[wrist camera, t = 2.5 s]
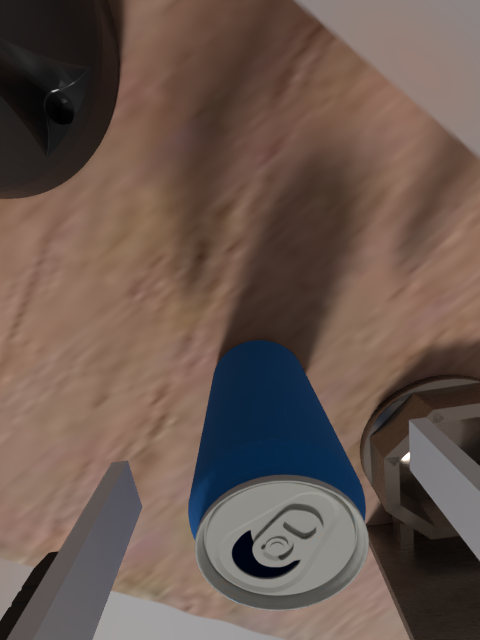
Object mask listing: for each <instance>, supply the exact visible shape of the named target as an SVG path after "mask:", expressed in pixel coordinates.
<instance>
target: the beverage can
mask: <svg viewBox="0 0 480 640" xmlns="http://www.w3.org/2000/svg"><path fill="white" fill-rule="evenodd" d="M365 513H366V506H365V497H364V493H363V489H362V485H361V483H360V481H359V479H358V477H357V475H356V473H355V471H354V469H353V467H352V465H351V463H350V461H349V459H348V457H347V455H346V453H345V451H344V449H343V447H342V445H341V443H340V441H339V439H338V437H337V435H336V433H335V431H334V429H333V427H332V425H331V423H330V421H329V419H328V417H327V415H326V413H325V411H324V409H323V407H322V406H321V404H320V402H319V400H318V398H317V396H316V394H315V392H314V390H313V388H312V386H311V384H310V382H309V380H308V378H307V376H306V374H305V372H304V370H303V368H302V366H301V364H300V362H299V361H298V359H297V358H296V356H295V355H294V354H293V353H292V352H291V351H289V350H288V349H287V348H285V347H284V346H282V345H280V344H277V343H274V342H271V341H265V340H254V341H248V342H245V343H241V344H239V345H237V346H235V347H234V348H232V349H230V350H229V351H228V352H227V353H226V354H225V355H224V356H223V357H222V358H221V359H220V361H219V362H218V364H217V366H216V368H215V371H214V375H213V380H212V386H211V391H210V396H209V401H208V406H207V411H206V417H205V422H204V427H203V432H202V437H201V442H200V447H199V453H198V458H197V463H196V468H195V473H194V478H193V483H192V489H191V494H190V499H189V508H188V514H189V522H190V527H191V531H192V534H193V537H194V539H195V555H196V561H197V564H198V567H199V569H200V571H201V573H202V575H203V576H204V578H205V579H206V581H207V582H208V583H209V584H210V585H211V586H212V587H213V588H214V589H215V590H216V591H218V592H219V593H220V594H221V595H223V596H225V597H226V598H228V599H229V600H232V601H234V602H236V603H238V604H241V605H244V606H247V607H251V608H255V609H260V610H268V611H286V610H295V609H301V608H305V607H309V606H312V605H315V604H318V603H321V602H323V601H325V600H327V599H329V598H331V597H333V596H334V595H336V594H338V593H339V592H340V591H342V590H343V589H344V588H346V587H347V586H348V585H349V584H350V583H351V582H352V581H353V580H354V578H355V577H356V576H357V575H358V573H359V572H360V570H361V569H362V567H363V565H364V562H365V560H366V557H367V553H368V547H369V537H368V531H367V527H366V524H365Z"/></svg>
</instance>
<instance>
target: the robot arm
mask: <svg viewBox="0 0 480 640" xmlns="http://www.w3.org/2000/svg"><path fill="white" fill-rule="evenodd" d="M117 84H118V51H117V41H116V34H115V28H114V23H113V18H112V15H111V11H110V7H109V4H108V1H107V0H0V199H13V198H24V197H29V196H34V195H38V194H41V193H44V192H46V191H49V190H51V189H53V188H55V187H57V186H59V185H61V184H62V183H64V182H65V181H67V180H68V179H70V178H71V177H72V176H73V175H75V174H76V173H77V172H78V171H79V170H80V169H81V168H82V167H83V166H84V165H85V164H86V163H87V162H88V160H89V159H90V158H91V156H92V155H93V154H94V152H95V151H96V149H97V148H98V146H99V144H100V142H101V140H102V138H103V137H104V134H105V132H106V130H107V127H108V125H109V122H110V119H111V116H112V112H113V108H114V104H115V98H116V92H117ZM409 447H410V471H411V472H412V473H413V475H414V476H415V477H416V478H417V480H418V481H419V482H420V484H421V485H422V486H423V488H424V489H425V490H426V492H427V493H428V494H429V495H430V497H431V498H432V499H433V501H434V502H435V503H436V505H437V506H438V507H439V509H440V510H441V511H442V512H443V514H444V515H445V516H446V518H447V519H448V520H449V522H450V523H451V524H452V525H453V527H454V528H455V529H456V531H457V532H458V533H459V535H460V536H461V537H462V539H463V540H464V541H465V542H466V544H467V545H468V546H469V548H470V549H471V550H472V552H473V553H474V554H475V556H476V557H477V558H478V559H479V561H480V466H479V465H478V464H477V463H476V462H475V461H474V460H472V459H471V458H470V457H469V456H468V455H467V454H466V453H465V452H464V451H463V450H461V449H460V448H459V447H458V446H457V445H456V444H455V443H454V442H453V441H452V440H450V439H449V438H448V437H447V436H446V435H445V434H444V433H443V432H442V431H441V430H439V429H438V428H437V427H436V426H435V425H434V424H433V423H432V422H431V421H430V420H429V419H427V418H426V417H424V418H417V419H411V420H409ZM141 509H142V505H141V501H140V498H139V495H138V492H137V489H136V486H135V482H134V479H133V476H132V473H131V470H130V467H129V463H128V461H121V462H114V463H111V465H110V467H109V468H108V470H107V472H106V473H105V475H104V477H103V478H102V480H101V482H100V484H99V485H98V487H97V489H96V490H95V492H94V494H93V495H92V497H91V499H90V500H89V502H88V504H87V505H86V507H85V509H84V510H83V512H82V514H81V515H80V517H79V519H78V520H77V522H76V524H75V526H74V527H73V529H72V531H71V532H70V534H69V536H68V537H67V539H66V541H65V542H64V544H63V546H62V547H61V549H60V551H58V552H51V553H48V554H47V555H46V556H45V557H44V559H43V560H42V561H41V562H40V563H39V564H38V565H37V566H36V567H35V568H34V569H33V571H32V572H31V574H30V576H29V577H28V579H27V580H26V582H25V583H24V585H23V586H22V590H21V591H19V593H18V594H17V596H16V597H15V599H14V600H13V602H12V606H11V607H9V608H8V610H7V611H6V613H5V614H4V616H3V617H2V619H1V621H0V640H92V639H93V636H94V634H95V631H96V628H97V626H98V623H99V620H100V618H101V615H102V612H103V610H104V607H105V604H106V602H107V599H108V596H109V594H110V591H111V588H112V586H113V583H114V580H115V578H116V575H117V573H118V570H119V567H120V565H121V562H122V559H123V557H124V554H125V551H126V549H127V546H128V543H129V541H130V538H131V535H132V533H133V530H134V527H135V525H136V522H137V519H138V517H139V514H140V511H141Z"/></svg>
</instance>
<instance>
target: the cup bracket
mask: <svg viewBox="0 0 480 640" xmlns="http://www.w3.org/2000/svg"><path fill="white" fill-rule="evenodd" d="M424 417H426V418H427V419H429V420H430V421H431V422H432V423H433V424H434V425H435V426H436V427H437V428H438V429H439V430H441V431H442V432H443V433H444V434H445V435H446V436H447V437H448V438H449V439H450V440H452V441H453V442H454V443H455V444H456V445H457V446H458V447H459V448H460V449H461V450H463V451H464V452H465V453H466V454H467V455H468V456H469V457H470V458H471V459H472V460H474V461H475V462H476V463H477V464H478V465H479V466H480V380H479V379H475V378H472V377H468V376H461V375H443V376H435V377H430V378H426V379H423V380H420V381H417V382H415V383H412V384H410V385H408V386H406V387H404V388H402V389H401V390H399V391H397V392H396V393H394V394H393V395H392V396H390V397H389V398H388V399H387V400H386V401H385V402H384V403H382V404H381V405H380V406H379V408H378V409H377V410H376V411H375V412H374V414H373V415H372V417H371V418H370V420H369V421H368V423H367V425H366V427H365V429H364V432H363V435H362V439H361V445H360V459H361V464H362V468H363V471H364V473H365V475H366V477H367V478H368V480H369V482H370V484H371V486H372V487H373V489H374V490H375V492H376V494H377V496H378V498H379V500H380V501H381V503H382V505H383V507H384V509H385V511H386V512H388V513H390V514H391V515H392V520H393V523H392V524H384V525H376V526H369V527H367V531H368V537H369V545H370V548H371V550H372V552H373V555H374V557H375V559H376V562H377V564H378V566H379V569H380V571H381V573H382V576H383V578H384V580H385V583H386V585H387V587H388V590H389V592H390V594H391V597H392V599H393V601H394V604H395V606H396V608H397V610H398V613H399V615H400V617H401V620H402V622H403V624H404V627H405V629H406V631H407V634H408V636H409V638H410V640H480V561H479V559H478V558H477V557H476V556H475V554H474V553H473V552H472V550H471V549H470V548H469V546H468V545H467V544H466V542H465V541H464V540H463V539H462V537H461V536H460V535H459V533H458V532H457V531H456V529H455V528H454V527H453V525H452V524H451V523H450V522H449V520H448V519H447V518H446V516H445V515H444V514H443V512H442V511H441V510H440V509H439V507H438V506H437V505H436V503H435V502H434V501H433V499H432V498H431V497H430V495H429V494H428V493H427V492H426V490H425V489H424V488H423V486H422V485H421V484H420V482H419V481H418V480H417V478H416V477H415V476H414V475H413V473H412V472H411V471H410V447H409V420H411V419H417V418H424Z"/></svg>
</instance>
